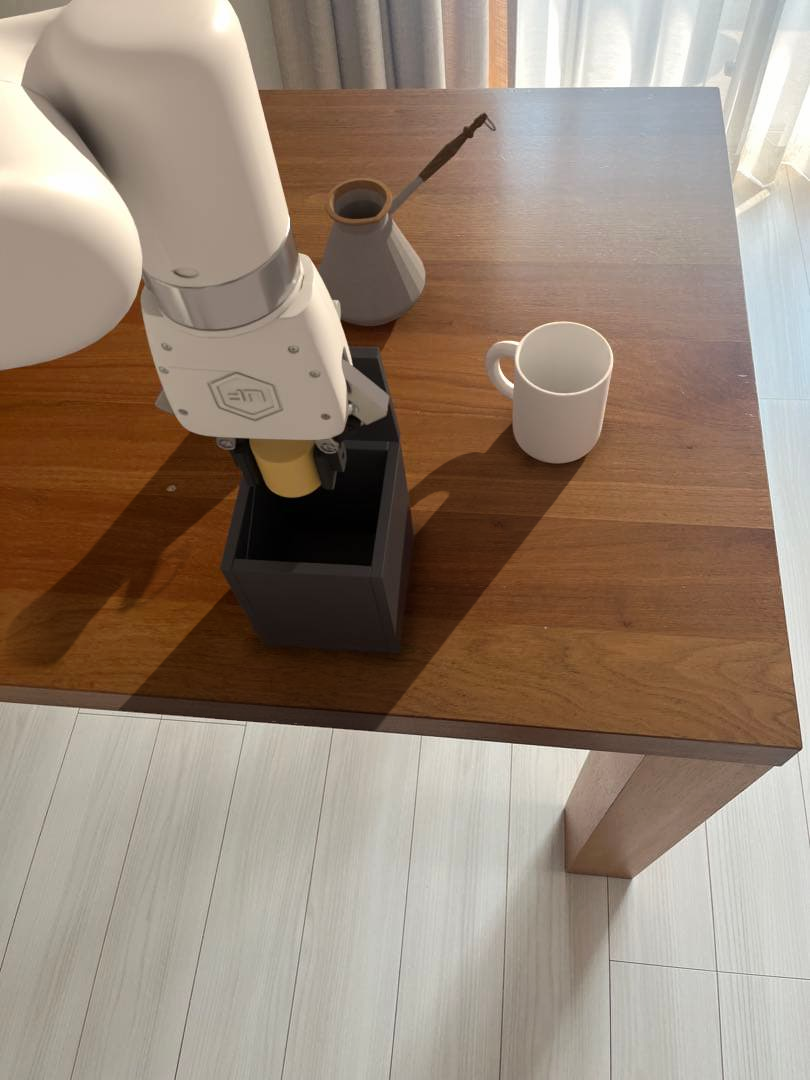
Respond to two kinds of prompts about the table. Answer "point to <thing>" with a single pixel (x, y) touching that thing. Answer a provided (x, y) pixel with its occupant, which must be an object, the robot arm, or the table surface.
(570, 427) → the mug
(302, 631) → the dark grey storage bin
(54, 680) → the table surface
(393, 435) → the chamber lid
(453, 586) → the table surface
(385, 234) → the coffee pot
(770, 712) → the table surface
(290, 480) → the cylinder
